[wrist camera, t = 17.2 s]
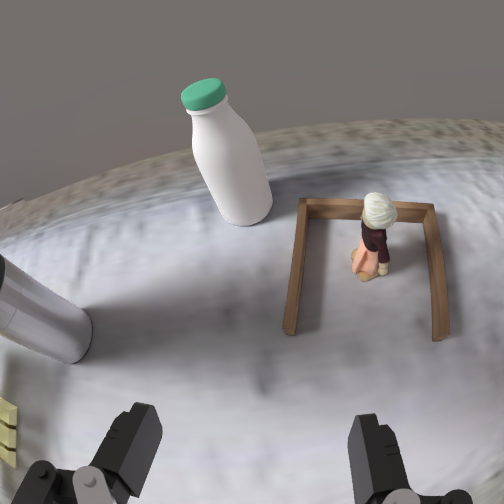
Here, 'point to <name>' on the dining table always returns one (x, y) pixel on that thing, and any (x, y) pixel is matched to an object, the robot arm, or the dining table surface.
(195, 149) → the milk bottle
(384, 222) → the grandmother figurine
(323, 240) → the dining table surface
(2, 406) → the slatted curved stool
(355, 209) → the box
